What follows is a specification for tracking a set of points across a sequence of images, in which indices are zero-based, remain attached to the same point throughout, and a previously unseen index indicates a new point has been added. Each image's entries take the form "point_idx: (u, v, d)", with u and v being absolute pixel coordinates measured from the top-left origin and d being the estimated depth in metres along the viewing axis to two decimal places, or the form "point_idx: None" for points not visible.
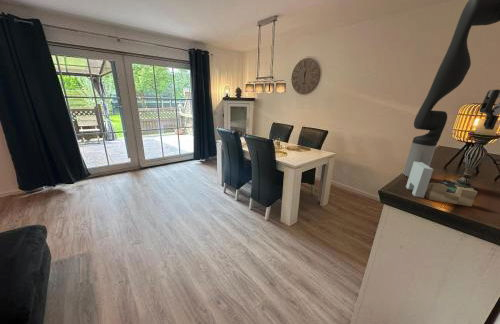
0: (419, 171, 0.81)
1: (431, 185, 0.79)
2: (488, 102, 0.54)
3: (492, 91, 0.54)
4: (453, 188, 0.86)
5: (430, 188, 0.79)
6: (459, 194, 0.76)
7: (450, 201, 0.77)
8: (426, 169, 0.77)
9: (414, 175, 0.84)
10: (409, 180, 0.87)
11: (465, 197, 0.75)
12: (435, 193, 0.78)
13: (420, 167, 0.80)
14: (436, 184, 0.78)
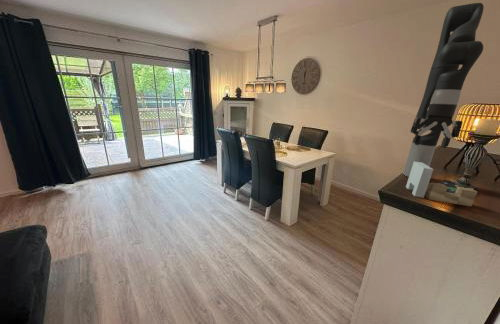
0: (419, 171, 0.81)
1: (431, 185, 0.79)
2: (414, 126, 0.78)
3: (416, 119, 0.78)
4: (453, 188, 0.86)
5: (430, 188, 0.79)
6: (459, 194, 0.76)
7: (450, 201, 0.77)
8: (426, 169, 0.77)
9: (414, 175, 0.84)
10: (409, 180, 0.87)
11: (465, 197, 0.75)
12: (435, 193, 0.78)
13: (420, 167, 0.80)
14: (436, 184, 0.78)
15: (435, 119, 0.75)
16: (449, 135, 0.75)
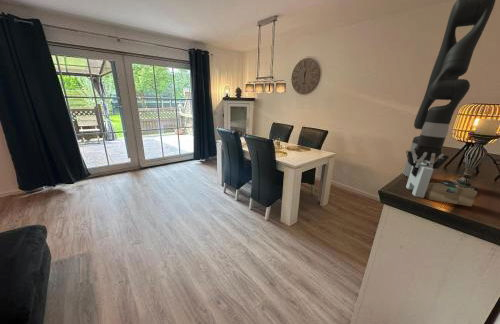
0: (419, 171, 0.80)
1: (431, 185, 0.79)
2: (409, 159, 0.82)
3: (407, 152, 0.82)
4: (453, 188, 0.86)
5: (430, 188, 0.79)
6: (459, 194, 0.76)
7: (450, 201, 0.77)
8: (426, 169, 0.77)
9: None
10: (409, 180, 0.87)
11: (465, 197, 0.75)
12: (435, 193, 0.78)
13: (420, 167, 0.80)
14: (436, 184, 0.78)
15: (425, 149, 0.79)
16: (431, 166, 0.80)
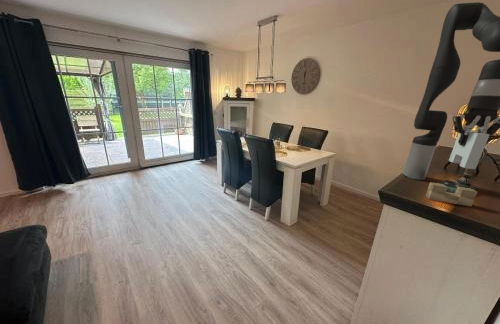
0: (469, 139, 0.70)
1: (431, 185, 0.79)
2: (457, 126, 0.71)
3: (455, 118, 0.71)
4: (452, 188, 0.86)
5: (430, 188, 0.79)
6: (459, 194, 0.76)
7: (450, 201, 0.77)
8: (480, 135, 0.66)
9: None
10: (454, 152, 0.76)
11: (465, 197, 0.75)
12: (435, 193, 0.78)
13: (471, 134, 0.69)
14: (436, 184, 0.78)
15: (478, 113, 0.68)
16: (484, 133, 0.69)
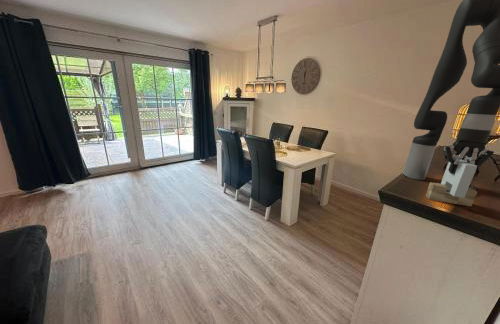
0: (458, 169, 0.73)
1: (431, 185, 0.79)
2: (447, 155, 0.74)
3: (445, 148, 0.74)
4: None
5: (430, 188, 0.79)
6: None
7: (450, 201, 0.77)
8: (469, 166, 0.69)
9: None
10: (444, 178, 0.80)
11: (465, 197, 0.75)
12: (435, 193, 0.78)
13: (460, 164, 0.72)
14: (436, 184, 0.78)
15: (466, 144, 0.71)
16: (472, 163, 0.72)
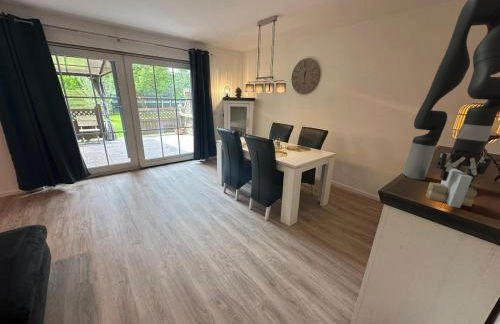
0: (454, 179, 0.74)
1: (431, 185, 0.79)
2: (441, 162, 0.75)
3: (442, 154, 0.75)
4: None
5: (430, 188, 0.79)
6: None
7: None
8: (464, 177, 0.70)
9: (448, 183, 0.77)
10: None
11: (465, 197, 0.75)
12: (435, 193, 0.78)
13: (456, 174, 0.73)
14: (436, 184, 0.78)
15: (463, 154, 0.72)
16: (474, 172, 0.72)
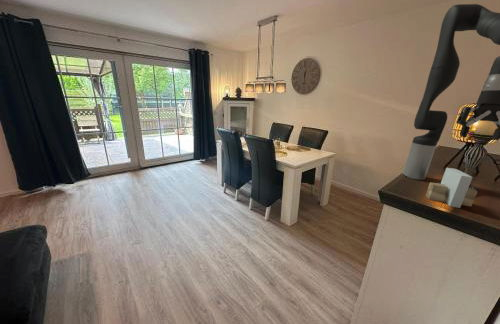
0: (454, 179, 0.74)
1: (431, 185, 0.79)
2: (462, 116, 0.70)
3: (465, 108, 0.70)
4: None
5: (430, 188, 0.79)
6: None
7: None
8: (464, 177, 0.70)
9: (448, 183, 0.77)
10: None
11: (465, 197, 0.75)
12: (435, 193, 0.78)
13: (456, 174, 0.73)
14: (436, 184, 0.78)
15: (488, 108, 0.67)
16: None
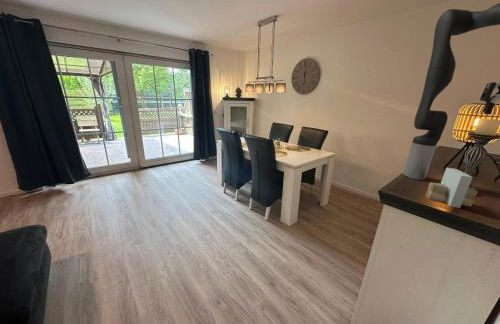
0: (454, 179, 0.74)
1: (431, 185, 0.79)
2: (487, 92, 0.69)
3: (490, 83, 0.68)
4: None
5: (430, 188, 0.79)
6: None
7: None
8: (464, 177, 0.70)
9: (448, 183, 0.77)
10: None
11: (465, 197, 0.75)
12: (435, 193, 0.78)
13: (456, 174, 0.73)
14: (436, 184, 0.78)
15: None
16: None
